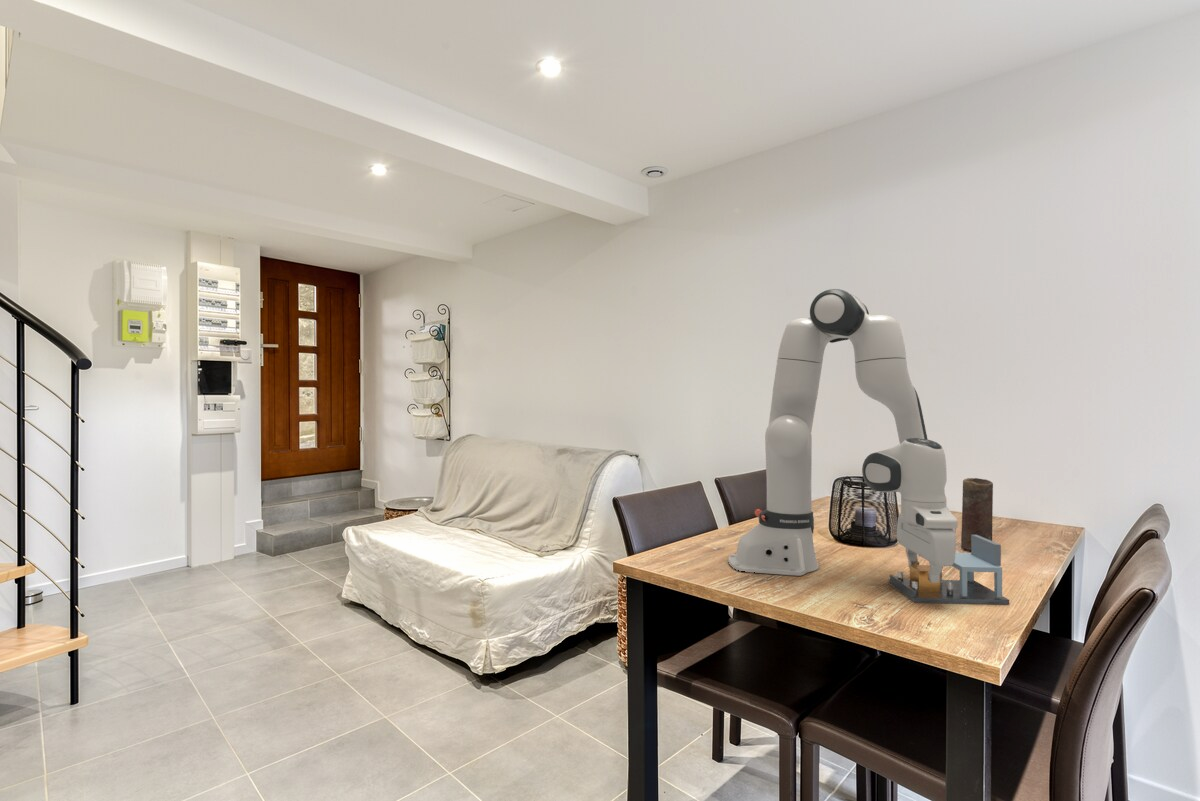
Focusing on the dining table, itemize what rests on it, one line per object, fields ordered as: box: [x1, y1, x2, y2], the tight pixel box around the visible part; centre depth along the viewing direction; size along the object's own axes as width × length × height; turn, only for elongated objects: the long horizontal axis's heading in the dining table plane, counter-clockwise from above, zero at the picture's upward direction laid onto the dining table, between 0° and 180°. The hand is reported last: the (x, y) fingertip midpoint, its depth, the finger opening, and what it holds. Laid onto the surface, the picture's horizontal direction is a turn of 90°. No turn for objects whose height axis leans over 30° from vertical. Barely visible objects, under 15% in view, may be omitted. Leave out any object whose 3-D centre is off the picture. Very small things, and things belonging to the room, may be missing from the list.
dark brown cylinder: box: [960, 477, 994, 551], centre depth 164 cm, size 8×7×20 cm
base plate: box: [888, 570, 1010, 606], centre depth 129 cm, size 19×13×4 cm
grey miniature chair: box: [940, 535, 1003, 597], centre depth 128 cm, size 8×12×11 cm
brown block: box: [908, 564, 940, 592], centre depth 129 cm, size 4×4×4 cm
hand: (923, 575), depth 129 cm, fingers open, 8 cm apart
